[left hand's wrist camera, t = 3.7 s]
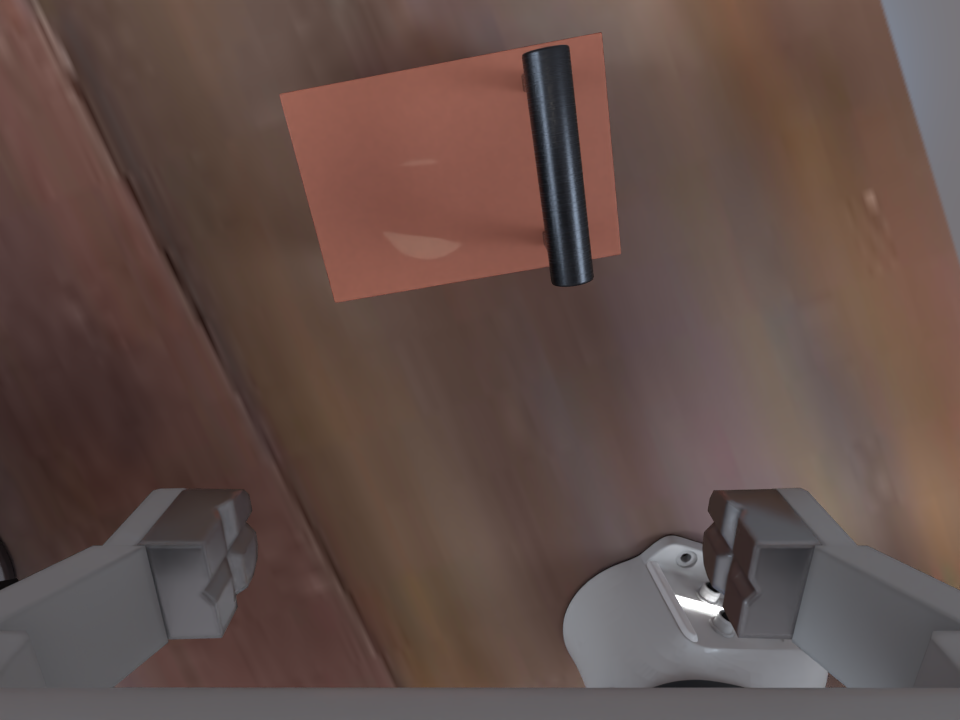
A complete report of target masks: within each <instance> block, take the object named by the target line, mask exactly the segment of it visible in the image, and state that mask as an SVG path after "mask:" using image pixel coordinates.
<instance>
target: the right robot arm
mask: <svg viewBox="0 0 960 720" xmlns="http://www.w3.org/2000/svg"><path fill="white" fill-rule="evenodd" d="M18 581H19V580H18V579H17V578H16V579H15V577H14V571H13V567H12V564H11V561H10V559H9V556H8V554H7V552H6V550H5V549H4V547H3V545H2V544H1V542H0V590H2V589H4V588H6V587H8V586H10V585H12V584H14V583H16V582H18Z"/></svg>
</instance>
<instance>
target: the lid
mask: <svg viewBox="0 0 960 720" xmlns="http://www.w3.org/2000/svg"><path fill="white" fill-rule="evenodd" d="M280 99H281V103H282V107H283V110H284V114H285V118H286V122H287V125H288V129H289V133H290V136H291V140H292V144H293V148H294V151H295V155H296V159H297V163H298V166H299V170H300V174H301V177H302V181H303V185H304V189H305V192H306V196H307V200H308V204H309V207H310V211H311V215H312V219H313V222H314V226H315V230H316V233H317V237H318V241H319V245H320V248H321V252H322V256H323V260H324V263H325V267H326V271H327V275H328V278H329V282H330V286H331V289H332V293H333V297H334V301H335V303H337V302H343V301H349V300H355V299H361V298H367V297H373V296H379V295H384V294H390V293H396V292H402V291H408V290H414V289H420V288H426V287H431V286H437V285H443V284H449V283H455V282H461V281H467V280H473V279H479V278H484V277H490V276H496V275H502V274H508V273H514V272H520V271H526V270H531V269H537V268H543V267H550V275H551V282H552V284H553V285H555V286H559V287H570V286H577V285H582V284H585V283H587V282H590V281H591V280H593V277H594V274H593V265H592V259H596V258H602V257H608V256H614V255H620V254H621V246H620V234H619V223H618V212H617V200H616V189H615V177H614V166H613V155H612V143H611V132H610V121H609V109H608V98H607V86H606V75H605V64H604V52H603V41H602V33H601V32H600V33H594V34H589V35H584V36H579V37H574V38H568V39H563V40H558V41H553V42H547V43H542V44H537V45H532V46H527V47H521V48H516V49H511V50H506V51H501V52H495V53H490V54H485V55H480V56H475V57H469V58H464V59H459V60H454V61H448V62H443V63H438V64H433V65H428V66H422V67H417V68H412V69H407V70H402V71H396V72H391V73H386V74H381V75H376V76H370V77H365V78H360V79H355V80H349V81H344V82H339V83H334V84H329V85H323V86H318V87H313V88H308V89H303V90H297V91H292V92H287V93H282V94H280Z"/></svg>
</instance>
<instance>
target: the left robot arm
mask: <svg viewBox="0 0 960 720" xmlns="http://www.w3.org/2000/svg"><path fill="white" fill-rule="evenodd" d="M251 512H252V507H251V502H250V497H249V494H248V493H247V492H246V491H245V490H243V489H194V488H189V489H186V488H160V489H156V490H153V491H152V492H151V493H150V494H149V495H148V496H147V498H146V499H145V500H144V501H143V502H142V503H141V504H140V505H139V506H138V507H137V508H136V510H135V511H134V512H133V513H132V514H131V515H130V516H129V517H128V518H127V519H126V520H125V522H124V523H123V524H122V525H121V526H120V527H119V528H118V529H117V530H116V531H115V532H114V534H113V535H112V536H111V537H110V538H109V539H108V540H107V541H106V542H105V543H104V544H103V546H91V547H89V548H87V549H85V550H83V551H81V552H79V553H77V554H75V555H72V556H70V557H68V558H66V559H64V560H62V561H60V562H58V563H56V564H54V565H52V566H50V567H47V568H45V569H43V570H41V571H39V572H37V573H35V574H33V575H31V576H29V577H27V578H25V579H23V580H20V581H18V582H16V583H14V584H12V585H10V586H8V587H6V588H4V589H2V590H0V720H960V590H958V589H956V588H954V587H952V586H950V585H948V584H946V583H944V582H941V581H939V580H937V579H935V578H933V577H931V576H929V575H927V574H925V573H923V572H921V571H919V570H917V569H914V568H912V567H910V566H908V565H906V564H904V563H902V562H900V561H898V560H896V559H894V558H892V557H890V556H887V555H885V554H883V553H881V552H879V551H877V550H875V549H873V548H871V547H869V546H857V544H856V543H855V542H854V541H853V540H852V539H851V538H850V537H849V536H848V535H847V534H846V532H845V531H844V530H843V529H842V528H841V527H840V526H839V525H838V524H837V523H836V522H835V520H834V519H833V518H832V517H831V516H830V515H829V514H828V513H827V512H826V511H825V510H824V508H823V507H822V506H821V505H820V504H819V503H818V502H817V501H816V500H815V499H814V498H813V496H812V495H811V494H810V493H809V492H808V491H806V490H804V489H802V488H781V489H757V490H714V491H713V493H712V495H711V497H710V500H709V506H708V512H709V514H710V516H711V517H712V519H713V521H714V523H713V524H712V525H711V526H710V527H709V528H708V529H707V530H706V531H705V532H704V538H703V544H702V543H698V542H695V541H692V540H689V539H685V538H682V537H679V536H673V535H671V536H666V537H663V538H661V539H660V540H658V541H657V542H655V543H654V544H653V545H651V546H650V547H649V548H648V549H646V550H645V551H644V552H643V553H642V554H641V555H639V556H637V557H635V558H633V559H631V560H628V561H625V562H623V563H620V564H617V565H615V566H613V567H610V568H608V569H606V570H604V571H603V572H601V573H599V574H598V575H596V576H595V577H593V578H592V579H591V580H589V581H588V582H587V583H586V584H585V585H584V586H583V587H582V588H581V589H580V590H579V591H578V592H577V593H576V595H575V596H574V598H573V599H572V601H571V602H570V604H569V606H568V608H567V611H566V614H565V617H564V622H563V637H564V642H565V645H566V648H567V650H568V652H569V654H570V656H571V657H572V659H573V660H574V662H575V664H576V666H577V668H578V670H579V672H580V674H581V676H582V679H583V681H584V684H585V686H586V688H113V687H114V686H115V685H117V684H118V683H119V682H120V681H122V680H123V679H124V678H125V677H126V676H128V675H129V674H130V673H131V672H132V671H134V670H135V669H136V668H137V667H139V666H140V665H141V664H142V663H143V662H145V661H146V660H147V659H148V658H150V657H151V656H152V655H153V654H154V653H156V652H157V651H158V650H159V649H161V648H162V647H163V646H164V645H165V644H167V643H168V639H198V638H222V636H223V634H224V632H225V630H226V628H227V627H228V625H229V623H230V621H231V619H232V617H233V615H234V613H235V611H236V609H237V607H238V606H237V600H236V595H237V594H238V593H240V592H241V591H243V590H244V589H246V588H247V587H248V585H249V583H250V581H251V579H252V577H253V575H254V571H255V566H256V562H257V551H258V544H257V537H256V532H255V531H254V530H253V529H252V528H251V527H250V526H249V525H248V524H247V523H246V521H247V519H248V517H249V516H250V514H251ZM683 554H687V555H685V556H682V555H683ZM828 672H829V673H830V674H831V675H833V676H834V677H835V678H836V679H837V680H839V681H840V682H841V683H842V684H844V685H845V686H846V687H847V688H825V686H826V682H827V677H828Z"/></svg>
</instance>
